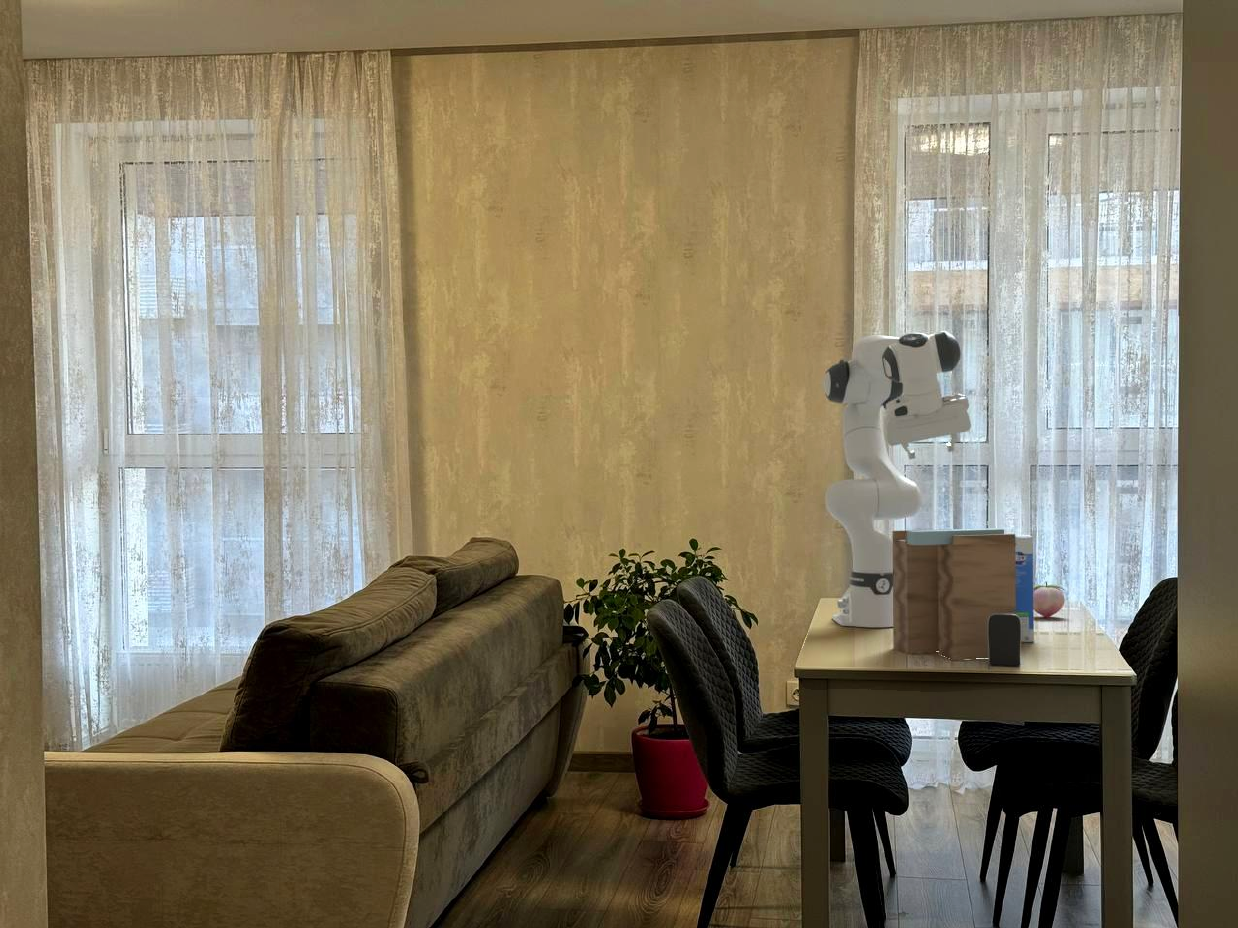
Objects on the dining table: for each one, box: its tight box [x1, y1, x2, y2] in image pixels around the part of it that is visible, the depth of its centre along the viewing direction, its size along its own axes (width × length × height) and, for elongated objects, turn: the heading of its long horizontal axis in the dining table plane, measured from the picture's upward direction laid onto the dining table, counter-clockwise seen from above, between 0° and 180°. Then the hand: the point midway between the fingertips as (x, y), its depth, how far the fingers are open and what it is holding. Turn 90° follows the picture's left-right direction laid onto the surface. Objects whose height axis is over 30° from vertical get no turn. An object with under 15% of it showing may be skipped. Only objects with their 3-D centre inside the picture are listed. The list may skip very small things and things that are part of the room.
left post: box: [892, 528, 953, 654], centre depth 300 cm, size 8×15×28 cm, turn 102°
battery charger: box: [988, 613, 1022, 667], centre depth 279 cm, size 7×4×11 cm, turn 77°
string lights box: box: [1015, 534, 1035, 643], centre depth 313 cm, size 13×8×26 cm, turn 80°
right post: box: [938, 533, 1016, 661], centre depth 290 cm, size 8×15×28 cm, turn 102°
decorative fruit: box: [1033, 581, 1066, 619], centre depth 351 cm, size 9×8×10 cm
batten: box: [907, 527, 1005, 545], centre depth 289 cm, size 4×22×3 cm, turn 102°
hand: (931, 454), depth 309 cm, fingers open, 8 cm apart
